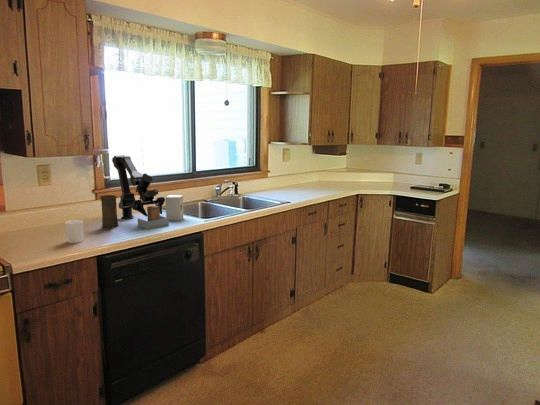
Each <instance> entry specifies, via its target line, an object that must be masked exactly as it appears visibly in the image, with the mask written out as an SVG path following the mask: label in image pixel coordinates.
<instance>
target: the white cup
mask: <svg viewBox="0 0 540 405" xmlns="http://www.w3.org/2000/svg"><path fill="white" fill-rule="evenodd" d="M64 223H65V229H66V230H65V231H66V236H67V242H68V243H69V244H77V243H81V242H82V243H83V241H84V220H83V219H72V220H68V221H67V220H66V221H65V222H64Z"/></svg>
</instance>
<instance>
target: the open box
mask: <svg viewBox="0 0 540 405" xmlns="http://www.w3.org/2000/svg"><path fill="white" fill-rule="evenodd" d="M169 224H170V222H169V220H168V218H166V216H162V215H160V219H158V220H152V221H148V220H145V219H141V218H139V217H138V218H137V227H140V228H142V229H145V230H151V229H157V228H163V227H168V226H169Z"/></svg>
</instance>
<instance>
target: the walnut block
mask: <svg viewBox="0 0 540 405" xmlns="http://www.w3.org/2000/svg"><path fill="white" fill-rule="evenodd" d="M146 213H147V221H152V220H158V219H160V216H161V214H160V207H158V206H156V205H151V206H150V205H148V206H147V207H146Z"/></svg>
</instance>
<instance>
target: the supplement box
mask: <svg viewBox="0 0 540 405" xmlns="http://www.w3.org/2000/svg"><path fill="white" fill-rule="evenodd" d="M165 217H166V218H168V221H182V220H183V219H184V195H183V194H168V195H167V196H165Z"/></svg>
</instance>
